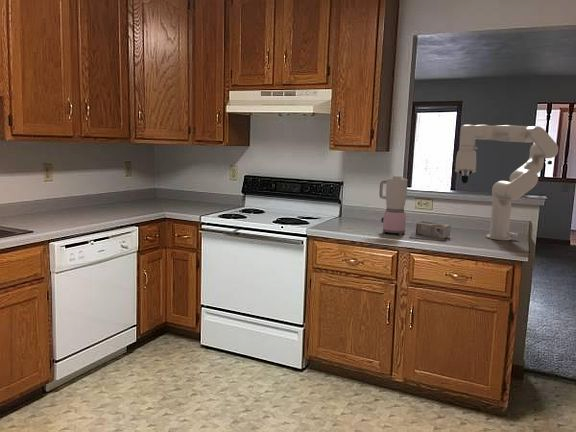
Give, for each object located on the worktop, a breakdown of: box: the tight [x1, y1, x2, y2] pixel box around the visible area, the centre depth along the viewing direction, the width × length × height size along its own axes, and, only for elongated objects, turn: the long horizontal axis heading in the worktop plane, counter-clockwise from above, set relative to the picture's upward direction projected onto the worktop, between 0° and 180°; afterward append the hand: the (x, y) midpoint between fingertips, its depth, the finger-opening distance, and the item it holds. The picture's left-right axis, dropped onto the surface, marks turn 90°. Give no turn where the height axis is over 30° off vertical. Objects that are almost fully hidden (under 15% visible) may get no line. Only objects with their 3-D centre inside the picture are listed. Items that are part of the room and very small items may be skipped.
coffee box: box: [415, 220, 452, 239], centre depth 269 cm, size 9×6×16 cm
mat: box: [409, 231, 446, 242], centre depth 267 cm, size 18×15×1 cm
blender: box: [379, 175, 409, 236], centre depth 273 cm, size 16×12×32 cm
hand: (464, 183), depth 262 cm, fingers closed
